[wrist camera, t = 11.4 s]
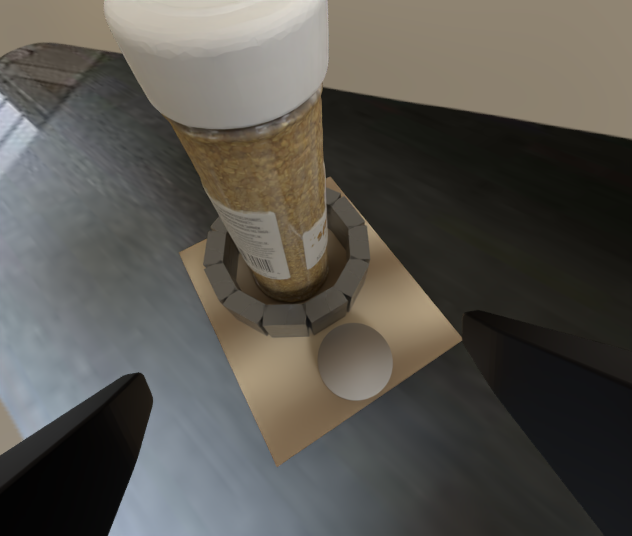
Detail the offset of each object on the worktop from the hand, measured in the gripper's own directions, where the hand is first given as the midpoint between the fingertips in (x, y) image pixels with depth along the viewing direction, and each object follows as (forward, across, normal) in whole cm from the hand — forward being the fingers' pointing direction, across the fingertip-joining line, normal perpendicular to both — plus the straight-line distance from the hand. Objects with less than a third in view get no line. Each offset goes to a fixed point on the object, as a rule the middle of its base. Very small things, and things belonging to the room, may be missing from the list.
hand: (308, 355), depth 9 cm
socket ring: (+10, 0, +1) cm, 10 cm away
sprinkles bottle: (+10, 0, +1) cm, 10 cm away
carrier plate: (+9, 0, +3) cm, 10 cm away
